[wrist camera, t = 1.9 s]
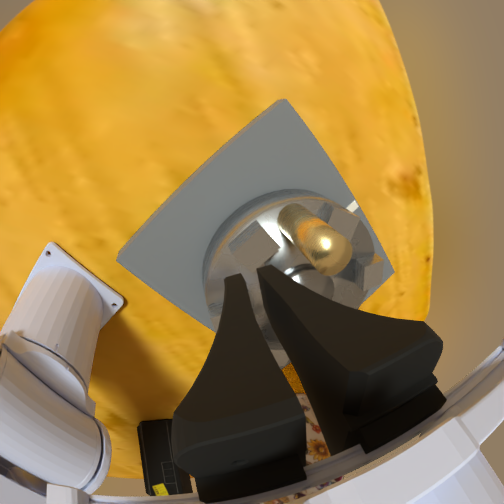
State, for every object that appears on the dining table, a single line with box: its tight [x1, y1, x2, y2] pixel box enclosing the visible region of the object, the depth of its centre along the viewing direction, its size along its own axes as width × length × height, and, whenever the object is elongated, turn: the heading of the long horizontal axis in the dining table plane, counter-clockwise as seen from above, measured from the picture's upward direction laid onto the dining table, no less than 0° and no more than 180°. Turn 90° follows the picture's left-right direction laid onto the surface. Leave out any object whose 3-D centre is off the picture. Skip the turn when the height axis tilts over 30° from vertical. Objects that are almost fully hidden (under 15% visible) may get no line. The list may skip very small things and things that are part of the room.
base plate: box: [116, 99, 394, 369], centre depth 23 cm, size 16×20×2 cm
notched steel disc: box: [202, 189, 384, 366], centre depth 19 cm, size 13×13×8 cm
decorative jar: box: [259, 393, 344, 504], centre depth 26 cm, size 12×12×18 cm
